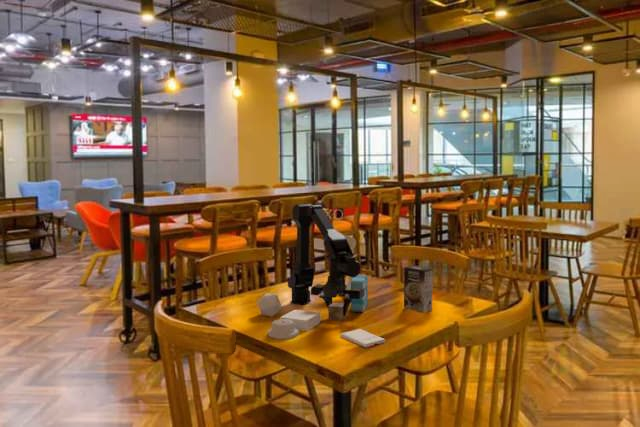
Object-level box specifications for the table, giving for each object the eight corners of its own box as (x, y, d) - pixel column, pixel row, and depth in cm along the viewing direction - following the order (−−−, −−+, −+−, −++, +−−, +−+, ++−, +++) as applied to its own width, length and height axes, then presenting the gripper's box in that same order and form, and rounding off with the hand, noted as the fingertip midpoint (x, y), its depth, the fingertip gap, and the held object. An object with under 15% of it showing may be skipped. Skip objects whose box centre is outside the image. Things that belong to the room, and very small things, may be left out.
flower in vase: (370, 292, 234) (370, 234, 231) (357, 298, 224) (357, 238, 222) (344, 289, 241) (343, 232, 238) (330, 294, 231) (329, 235, 229)
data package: (362, 313, 204) (362, 281, 202) (350, 312, 205) (350, 280, 203) (367, 304, 215) (367, 274, 214) (356, 304, 216) (356, 274, 215)
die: (286, 316, 203) (280, 292, 208) (278, 310, 196) (272, 285, 200) (266, 323, 205) (261, 299, 209) (257, 317, 197) (252, 293, 202)
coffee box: (403, 308, 209) (403, 267, 207) (412, 305, 213) (412, 264, 212) (423, 313, 202) (424, 270, 201) (433, 309, 207) (433, 267, 205)
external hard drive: (360, 333, 182) (385, 343, 172) (340, 338, 177) (365, 348, 167) (360, 328, 182) (385, 338, 172) (340, 333, 177) (365, 343, 167)
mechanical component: (262, 336, 179) (287, 341, 174) (261, 323, 178) (286, 328, 173) (280, 328, 187) (304, 333, 182) (279, 315, 187) (304, 320, 182)
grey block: (280, 328, 188) (280, 317, 187) (294, 320, 197) (294, 309, 196) (306, 332, 183) (306, 320, 183) (319, 323, 192) (319, 312, 192)
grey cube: (328, 319, 196) (328, 305, 196) (333, 315, 201) (333, 302, 200) (341, 321, 194) (341, 307, 194) (346, 317, 199) (346, 303, 198)
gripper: (303, 274, 192) (304, 318, 194) (354, 279, 185) (354, 324, 186) (316, 268, 202) (317, 310, 204) (364, 272, 195) (365, 315, 196)
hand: (337, 314), depth 197 cm, fingers closed on grey cube, 5 cm apart
